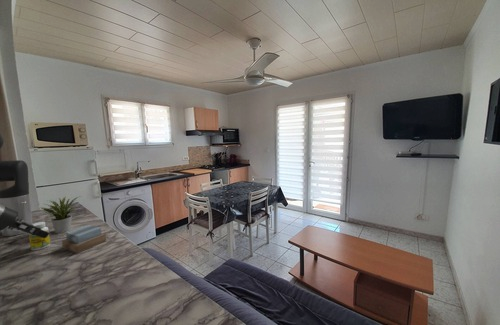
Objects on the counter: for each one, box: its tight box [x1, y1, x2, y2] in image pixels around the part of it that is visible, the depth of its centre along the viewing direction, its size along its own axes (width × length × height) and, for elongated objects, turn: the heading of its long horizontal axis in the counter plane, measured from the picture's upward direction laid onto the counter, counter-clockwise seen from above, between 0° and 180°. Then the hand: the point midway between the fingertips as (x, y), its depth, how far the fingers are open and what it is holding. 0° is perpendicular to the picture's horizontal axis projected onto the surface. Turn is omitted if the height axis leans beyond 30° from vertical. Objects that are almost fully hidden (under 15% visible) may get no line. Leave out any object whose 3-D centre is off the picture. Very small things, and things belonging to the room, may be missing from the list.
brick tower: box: [61, 224, 107, 254], centre depth 80 cm, size 10×10×6 cm
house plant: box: [40, 196, 82, 234], centre depth 93 cm, size 14×14×16 cm
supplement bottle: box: [28, 221, 51, 251], centre depth 77 cm, size 5×5×10 cm
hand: (41, 233), depth 78 cm, fingers open, 8 cm apart
